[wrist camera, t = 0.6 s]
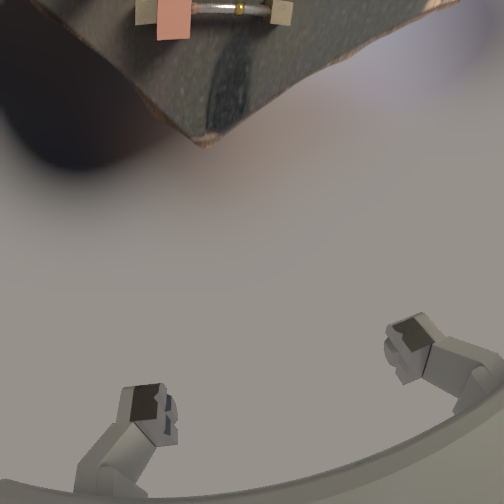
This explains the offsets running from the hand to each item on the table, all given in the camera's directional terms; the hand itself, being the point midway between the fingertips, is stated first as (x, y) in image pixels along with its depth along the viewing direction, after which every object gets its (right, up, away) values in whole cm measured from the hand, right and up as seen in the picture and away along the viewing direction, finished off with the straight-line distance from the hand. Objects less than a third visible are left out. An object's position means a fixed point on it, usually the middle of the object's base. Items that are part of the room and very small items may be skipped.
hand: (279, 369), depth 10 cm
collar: (-12, +40, +24) cm, 48 cm away
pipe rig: (-7, +41, +25) cm, 48 cm away
